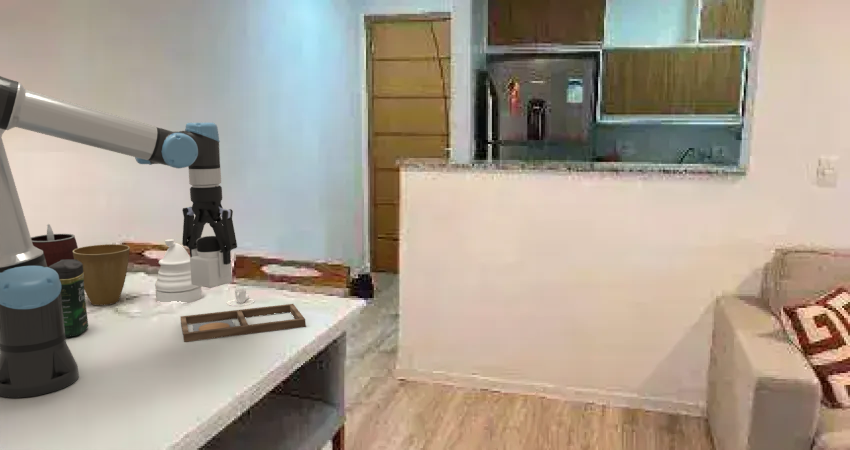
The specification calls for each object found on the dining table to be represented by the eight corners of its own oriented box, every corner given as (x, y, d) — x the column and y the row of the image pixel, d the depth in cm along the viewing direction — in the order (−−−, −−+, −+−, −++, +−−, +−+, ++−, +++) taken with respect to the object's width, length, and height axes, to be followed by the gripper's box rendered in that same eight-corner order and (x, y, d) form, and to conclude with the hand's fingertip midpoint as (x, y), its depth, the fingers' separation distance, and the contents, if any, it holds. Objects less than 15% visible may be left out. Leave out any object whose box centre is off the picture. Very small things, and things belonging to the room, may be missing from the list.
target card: (236, 332, 169) (236, 330, 169) (195, 337, 165) (195, 335, 165) (232, 320, 178) (232, 319, 178) (192, 325, 174) (192, 323, 174)
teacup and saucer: (240, 298, 201) (239, 284, 201) (262, 300, 198) (261, 287, 197) (220, 305, 193) (220, 292, 193) (243, 308, 190) (242, 294, 189)
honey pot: (174, 306, 191) (170, 245, 188) (147, 300, 198) (142, 240, 195) (211, 296, 202) (207, 237, 199) (183, 290, 209) (179, 233, 206)
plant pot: (84, 312, 186) (79, 256, 183) (72, 301, 197) (67, 248, 194) (140, 302, 195) (136, 249, 192) (125, 292, 206) (121, 241, 204)
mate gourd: (83, 293, 206) (77, 229, 202) (31, 300, 198) (24, 233, 195) (78, 282, 219) (73, 222, 215) (29, 288, 211) (23, 226, 208)
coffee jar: (80, 338, 165) (73, 264, 161) (45, 340, 163) (37, 266, 160) (93, 326, 174) (86, 256, 171) (60, 327, 173) (53, 257, 170)
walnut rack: (305, 326, 173) (305, 319, 172) (184, 342, 162) (183, 334, 161) (293, 310, 187) (293, 303, 186) (180, 323, 176) (180, 316, 175)
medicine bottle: (232, 282, 171) (229, 236, 169) (210, 288, 165) (207, 240, 163) (213, 278, 174) (210, 233, 172) (191, 284, 168) (187, 238, 166)
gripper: (249, 185, 165) (254, 275, 169) (183, 182, 173) (189, 268, 176) (229, 188, 158) (235, 282, 162) (162, 185, 166) (168, 275, 170)
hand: (211, 275), depth 169 cm, fingers closed on medicine bottle, 8 cm apart
